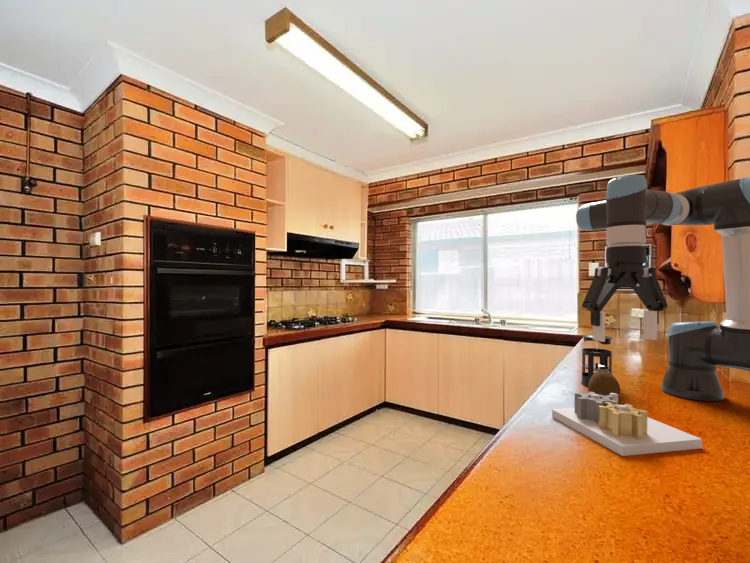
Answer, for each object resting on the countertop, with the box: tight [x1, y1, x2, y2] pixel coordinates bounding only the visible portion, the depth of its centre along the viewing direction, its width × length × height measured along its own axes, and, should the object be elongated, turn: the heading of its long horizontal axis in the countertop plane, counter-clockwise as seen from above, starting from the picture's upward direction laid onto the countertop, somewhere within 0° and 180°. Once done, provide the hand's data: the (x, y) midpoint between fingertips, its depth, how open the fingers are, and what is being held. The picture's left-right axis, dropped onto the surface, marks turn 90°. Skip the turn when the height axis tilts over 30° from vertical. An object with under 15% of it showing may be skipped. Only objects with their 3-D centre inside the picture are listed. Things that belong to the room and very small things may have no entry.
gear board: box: [551, 391, 703, 457], centre depth 89 cm, size 20×22×8 cm
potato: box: [587, 371, 622, 397], centre depth 112 cm, size 8×12×9 cm
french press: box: [580, 318, 613, 388], centre depth 128 cm, size 12×9×23 cm
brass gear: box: [598, 402, 648, 440], centre depth 84 cm, size 9×9×5 cm
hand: (624, 340), depth 84 cm, fingers open, 13 cm apart
